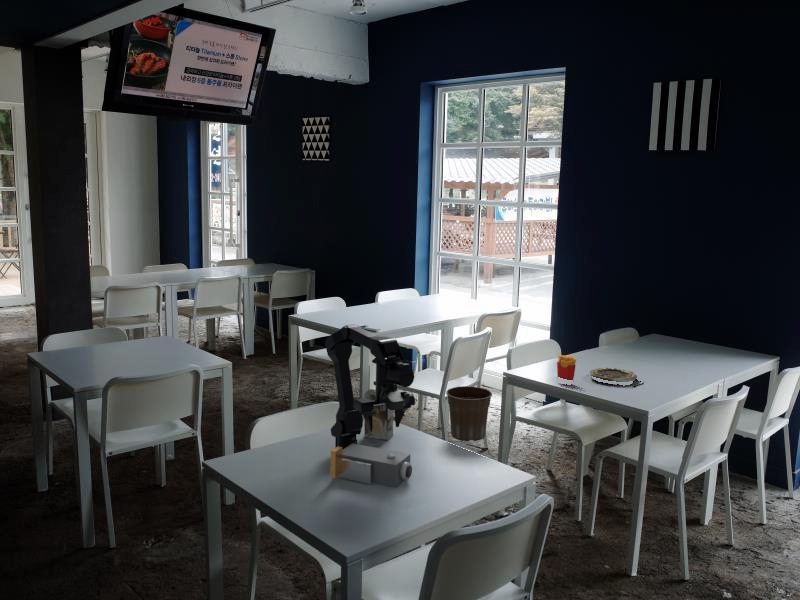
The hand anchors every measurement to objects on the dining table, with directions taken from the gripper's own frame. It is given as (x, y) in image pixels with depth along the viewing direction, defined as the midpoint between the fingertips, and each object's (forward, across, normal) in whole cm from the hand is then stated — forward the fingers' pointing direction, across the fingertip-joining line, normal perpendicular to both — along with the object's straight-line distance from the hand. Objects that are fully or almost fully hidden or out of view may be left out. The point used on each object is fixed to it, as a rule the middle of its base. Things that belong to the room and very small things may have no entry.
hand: (384, 429), depth 218 cm
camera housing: (+14, -4, -2) cm, 14 cm away
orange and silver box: (+13, -13, -4) cm, 19 cm away
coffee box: (+14, +15, +29) cm, 36 cm away
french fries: (+14, +126, +52) cm, 137 cm away
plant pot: (+14, +43, +15) cm, 47 cm away
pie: (+15, +150, +47) cm, 158 cm away
